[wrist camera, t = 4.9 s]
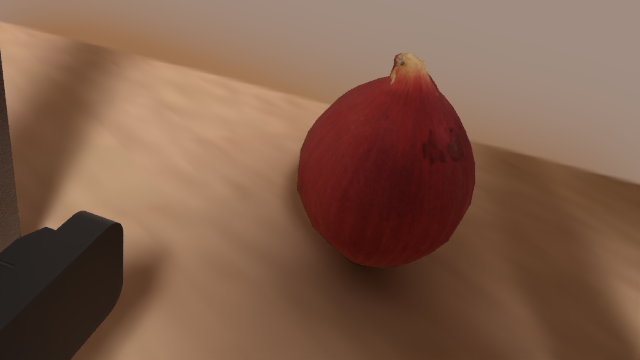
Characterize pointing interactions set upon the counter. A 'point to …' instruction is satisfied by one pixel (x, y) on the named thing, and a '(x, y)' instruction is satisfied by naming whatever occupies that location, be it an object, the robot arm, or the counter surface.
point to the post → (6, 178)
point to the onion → (388, 169)
